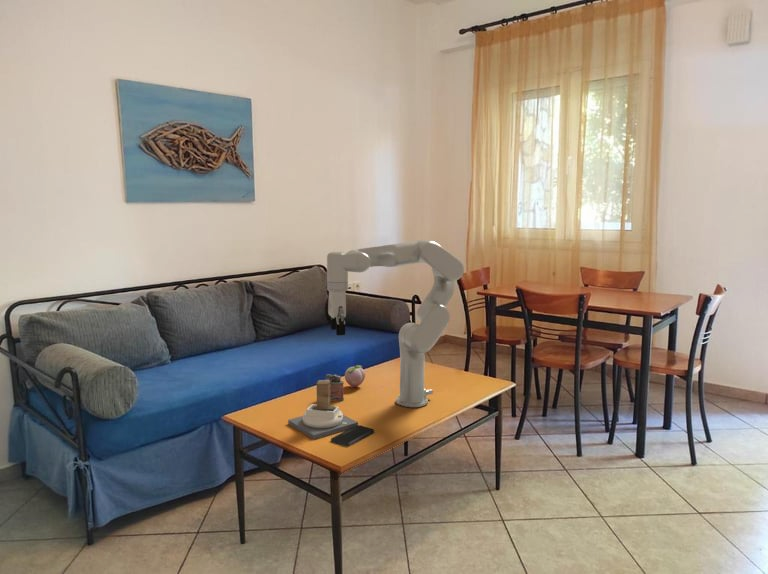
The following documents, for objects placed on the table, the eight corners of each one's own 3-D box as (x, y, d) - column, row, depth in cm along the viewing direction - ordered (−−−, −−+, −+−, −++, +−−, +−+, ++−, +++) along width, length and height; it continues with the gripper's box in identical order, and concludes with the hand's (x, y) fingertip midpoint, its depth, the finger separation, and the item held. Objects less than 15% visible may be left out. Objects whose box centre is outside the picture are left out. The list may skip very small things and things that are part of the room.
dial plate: (331, 412, 205) (331, 408, 204) (357, 426, 192) (357, 421, 191) (288, 423, 194) (288, 419, 193) (313, 439, 180) (313, 434, 180)
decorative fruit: (351, 382, 240) (351, 360, 238) (367, 385, 236) (368, 363, 235) (340, 389, 231) (340, 366, 230) (357, 391, 228) (357, 368, 227)
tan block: (315, 412, 194) (314, 379, 193) (334, 413, 194) (334, 380, 192) (312, 416, 190) (312, 383, 189) (332, 417, 190) (332, 384, 188)
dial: (296, 425, 187) (296, 413, 187) (311, 411, 201) (311, 399, 200) (335, 430, 184) (334, 417, 183) (348, 415, 197) (348, 403, 197)
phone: (375, 430, 187) (347, 444, 175) (375, 433, 187) (347, 448, 175) (357, 424, 191) (329, 438, 179) (357, 427, 191) (329, 442, 179)
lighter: (345, 398, 219) (345, 374, 218) (341, 401, 216) (341, 377, 215) (326, 396, 222) (326, 372, 221) (323, 399, 219) (322, 375, 218)
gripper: (323, 283, 207) (323, 327, 209) (332, 289, 190) (332, 338, 193) (342, 282, 209) (342, 326, 211) (353, 289, 193) (353, 336, 195)
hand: (337, 332), depth 202 cm, fingers open, 9 cm apart
